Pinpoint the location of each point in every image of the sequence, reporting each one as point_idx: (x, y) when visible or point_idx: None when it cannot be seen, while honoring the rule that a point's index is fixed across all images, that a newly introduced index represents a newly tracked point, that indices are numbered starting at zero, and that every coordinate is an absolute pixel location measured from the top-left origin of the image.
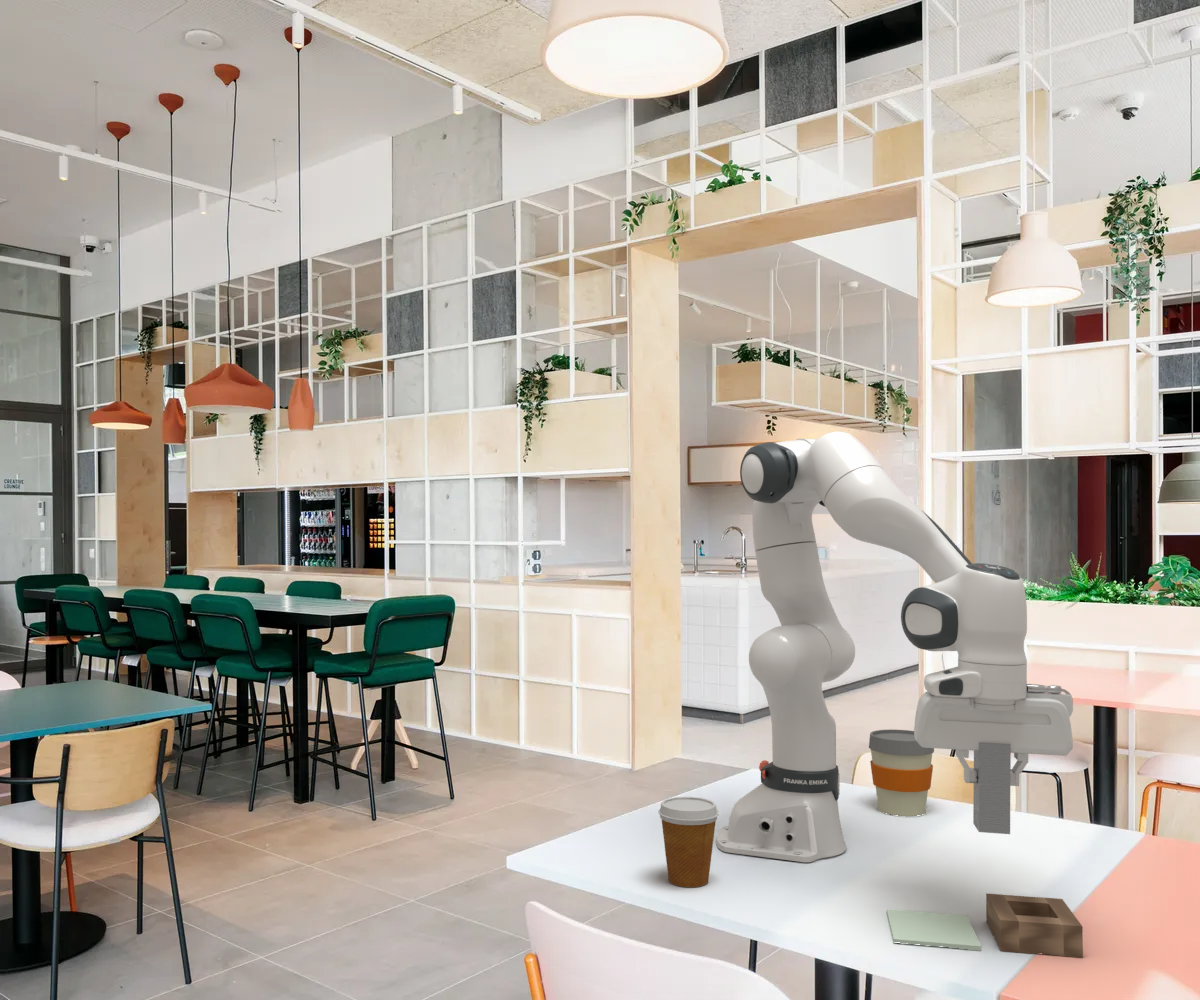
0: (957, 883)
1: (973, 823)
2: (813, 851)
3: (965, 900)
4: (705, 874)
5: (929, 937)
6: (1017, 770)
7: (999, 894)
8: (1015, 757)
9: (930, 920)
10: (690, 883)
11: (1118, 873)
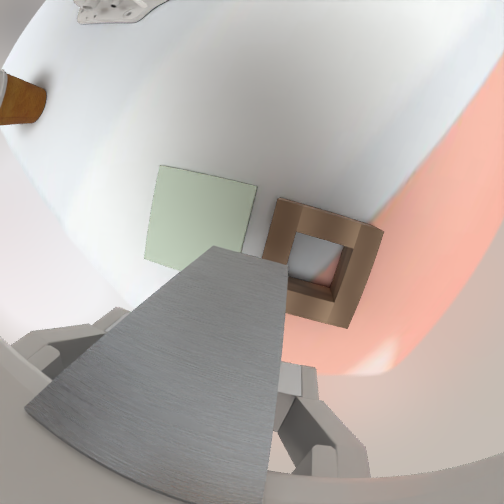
0: (301, 56)
1: (213, 246)
2: (143, 6)
3: (286, 115)
4: (34, 113)
5: (181, 257)
6: (287, 445)
7: (297, 205)
8: (298, 467)
9: (199, 204)
10: (30, 122)
11: (497, 77)
